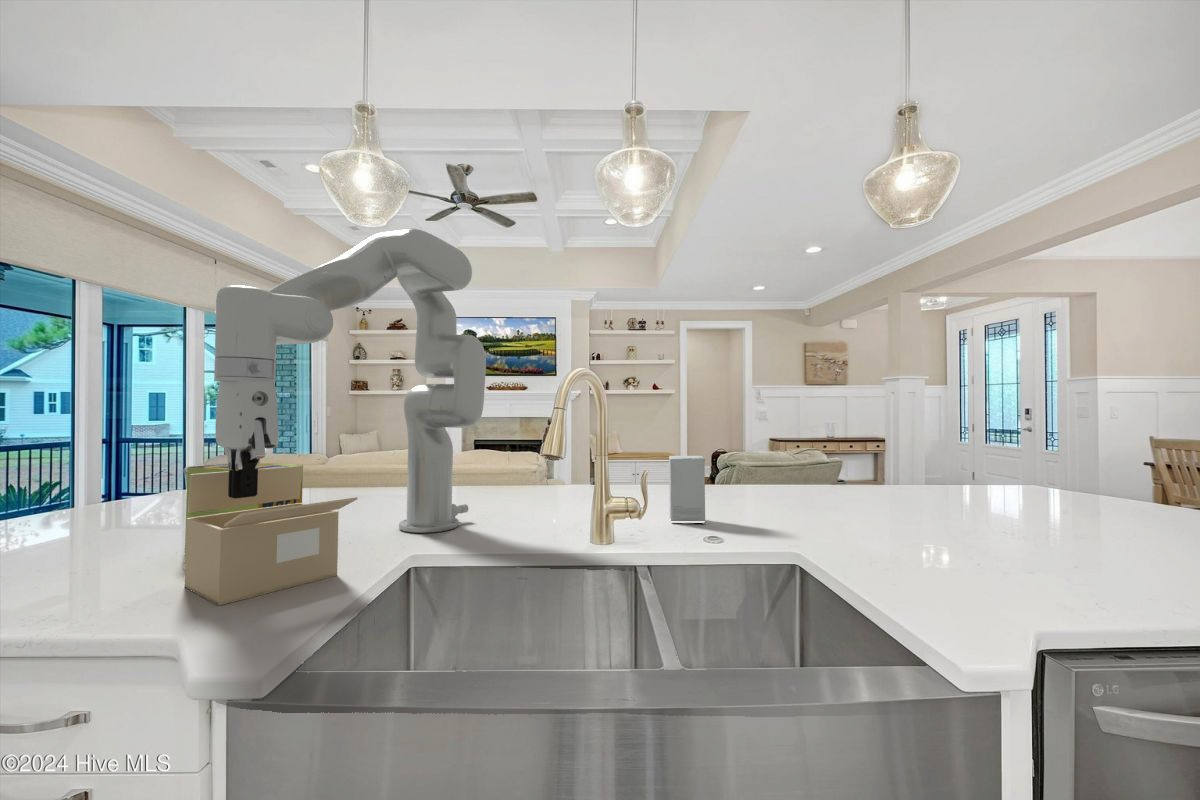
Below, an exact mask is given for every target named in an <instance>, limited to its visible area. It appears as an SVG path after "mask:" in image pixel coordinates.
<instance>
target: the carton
mask: <svg viewBox="0 0 1200 800" xmlns="http://www.w3.org/2000/svg"><path fill="white" fill-rule="evenodd" d="M305 504H306V503H303V502H302V503H296V504H288V505H281V506H273V507H266V508H258V509H251V510H244V511H236V512H229V513H221V514H214V515H206V516H199V517H192V518H186V517H185V531H186V552H185V551H184V554H185V555H184V557H185V559H184V560H185V561H184V562H185V563H184V588H185V587H186V588H185V589H187V588H188V589H190V590H192V591H194V592H195V593H194V592H193V593H194V594H196V593H197V594H196V595H198V594H199V595H198V596H200V597H201V596H202V597H201V598H203V597H204V599H205V598H206V599H205V600H207V601H209V602H210V603H213V604H215V605H217V606H219V607H220V606H223V605H228V604H231V603H236V602H239V601H242V600H243V601H244V600H246V599H251V598H255V597H259V596H262V595H265V594H270V593H275V592H278V591H281V590H286V589H290V588H294V587H297V586H301V585H306V584H309V583H313V582H317V581H320V580H325V579H328V578H332V577H336V576H338V563H339V562H338V556H339V553H338V551H339V550H338V549H339V514H340V513H339V511H337V510H331V511H324V512H318V513H311V514H305V515H298V516H291V517H285V518H278V519H272V520H265V521H259V522H252V523H246V524H239V525H233V526H226V527H224V524H225V523H227V522H228V521H230V520H232V519H233V518H235V517H236V516H238V515H239V514H241V513H247V512H254V511H262V510H269V509H276V508H283V507H291V506H298V505H305ZM188 589H187V590H188ZM190 590H189V591H190ZM192 591H191V592H192Z"/></svg>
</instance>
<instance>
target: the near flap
mask: <svg viewBox="0 0 1200 800" xmlns="http://www.w3.org/2000/svg"><path fill="white" fill-rule="evenodd" d="M358 499H359V498H358V497H349V498H342V499H336V500H328V501H321V502H313V503H304V504H305V505H298V506H291V507H283V508H276V509H269V510H262V511H254V512H247V513H241V514H239V515H238V516H236V517H235V518H233V519H232V520H230V521H228V522H227V523H225V524H224V527H226V526H233V525H239V524H246V523H252V522H259V521H265V520H272V519H278V518H285V517H291V516H298V515H305V514H311V513H318V512H324V511H331V510H335V511H337V510H340V509H343V508H344V507H346V506H349V504H351V503H353V502H355V501H357V500H358Z"/></svg>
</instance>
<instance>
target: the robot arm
mask: <svg viewBox="0 0 1200 800" xmlns="http://www.w3.org/2000/svg"><path fill="white" fill-rule="evenodd" d="M472 268H473V267H472V264H471V262H470V260H469V258H468V257H467V256H466V254H465V253H464V252H463V251H462V250H460V249H459V248H457V247H456V246H453V245H452V244H450V243H449V242H446V241H444V240H443V239H442V238H439V237H437V236H436V235H434V234H432V233H429V232H427V231H425V230H422V229H418V228H407V229H405V228H404V229H398V230H391V231H383V232H379V233H376V234H373V235H371V236H370V237H368V238H367V239H365V240H363V241H361V242H360V243H358V244H357V245H355V246H353V248H351V249H349V250H348V251H346V252H344V253H343V254H341V255H340V256H338V257H336V258H334V259H333V260H331V261H328V262H327V263H324V264H320V265H319V266H316V267H315V268H312V269H311V270H308V271H306V272H304V273H301V274H300V275H299V274H298V275H296V276H294V277H292V278H289V279H287V280H285V281H283V282H281V283H279V284H277V285H275V286H274V287H272V288H270V289H269V290H268V289H263V288H259V287H253V286H247V285H246V286H245V285H228V286H223V287H222V288H220V289H219V290H218V292H217V293H216V300H215V302H216V303H215V328H214V330H215V331H214V332H215V333H214V334H215V337H214V375H213V376H214V377H213V379H214V380H213V381H214V382H219V385H218V390H217V391H218V392H217V400H216V411H215V413H216V414H215V442H216V445H218V446H219V447H221V448H223V452H224V454H225V455H226V456H227V463H228V469H229V484H228V496H229V497H231V498H235V499H236V498H245V497H253V496H256V495H257V489H258V469H259V464H260V463H261V461H260V460H262V459H264V458H265V456H266V449H274V448H276V447H277V446H278V445H279V411H278V398H277V390H276V386H275V383H276V377H277V373H276V371H277V370H276V369H277V362H276V360H277V346H279V345H307V344H314V343H315V344H316V343H318V342H320V341H322V340H325V339H326V338H327V337H328V336H329V335H330V334H331V332H332V330H333V327H334V318H333V313H332V311H335V310H336V311H337V310H340V309H346V308H349V307H352V306H355V305H358V304H361V303H363V302H365V301H368V299H370V298H371V297H373V295H376V293H377V292H378V291H380V290H381V289H383V288H384V287H385V286H386V285H388V284H389V283H390V282H392V281H393V280H394V279H396V278H397V280H398V283H399V285H400V286H401V287H402V289H403V290H404V291H405V292H406V294H407V296H408V297H409V299H410V300H411V302H412V303H413V304H412V305H414V309H415V311H416V334H415V335H416V336H415V346H414V347H415V349H414V366H415V370H416V372H417V373H418V374H419V375H420V376H422V377H425V378H431V379H453V383H426V384H425V383H424V384H419V385H415V386H414V387H412V388H411V389H409V391H408V392H407V393H406V394H405V397H404V400H403V412H404V413H403V414H404V419H405V422H406V431H407V478H406V480H407V481H406V483H407V485H406V486H407V487H406V519H403V520H402V521H400V522H399V523H398V528H399V530H400V531H402V532H405V533H416V534H417V533H421V534H422V533H426V534H428V533H439V532H445V531H449V530H452V529H456V528H457V527H458V526H459V525H460V524H459V522H460V520H459V518H457V517H456V516H458V514H464V513H466V514H467V513H468V512H469V506H468V504H465V503H464V504H460V505H456V504H455V503H453V459H454V458H453V457H454V456H453V454H454V446H453V442H452V439H451V437H450V434H449V433H448V431H447V429H446V428H451V429H452V428H453V429H454V428H457V429H461V428H462V429H464V428H466V429H467V428H471V427H473V426H475V425H477V424H478V423H479V421H480V420H481V418H482V415H483V411H484V405H485V404H484V403H485V387H486V385H485V384H486V373H487V356H486V352H485V349H484V345H483V343H482V342H481V341H480V339H478V338H477V337H475V336H474V335H470V334H457V313H456V311H455V308H454V306H453V304H452V303H451V301H450V300H449V298H448V297H447V296H446V295H445V293H444V292H455V291H461V290H463V289H465V288H467V286H468V285H469V284H470V282H471V281H472V277H473V269H472Z"/></svg>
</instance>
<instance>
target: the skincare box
mask: <svg viewBox="0 0 1200 800" xmlns="http://www.w3.org/2000/svg"><path fill="white" fill-rule="evenodd" d="M668 457H669V458H668V462H669V464H668V465H669V466H668V467H669V469H668V470H669V473H668V474H669V475H668V476H669V479H668V480H669V520H670V519H671V521H705V522H706V490H705V489H706V484H705V483H706V478H705V477H706V475H705V471H706V470H705V469H706V467H705V465H706V463H705V461H706V458H705V457H703V455H669V456H668ZM671 521H670V522H671Z"/></svg>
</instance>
